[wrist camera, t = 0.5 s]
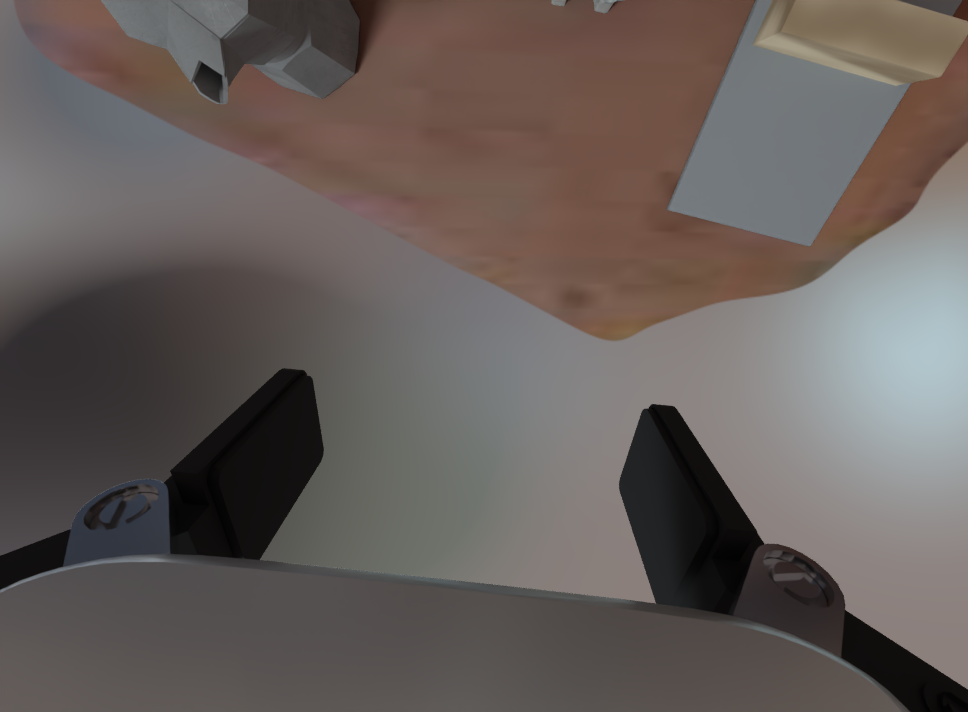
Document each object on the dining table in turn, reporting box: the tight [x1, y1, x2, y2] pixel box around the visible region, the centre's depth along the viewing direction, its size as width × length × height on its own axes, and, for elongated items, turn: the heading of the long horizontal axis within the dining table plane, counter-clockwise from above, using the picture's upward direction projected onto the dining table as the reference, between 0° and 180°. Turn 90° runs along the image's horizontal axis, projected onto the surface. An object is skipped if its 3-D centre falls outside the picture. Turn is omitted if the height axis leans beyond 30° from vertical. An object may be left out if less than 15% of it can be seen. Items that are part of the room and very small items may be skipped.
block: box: [753, 0, 968, 86], centre depth 27 cm, size 3×12×4 cm, turn 77°
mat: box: [667, 0, 962, 246], centre depth 31 cm, size 18×14×1 cm
